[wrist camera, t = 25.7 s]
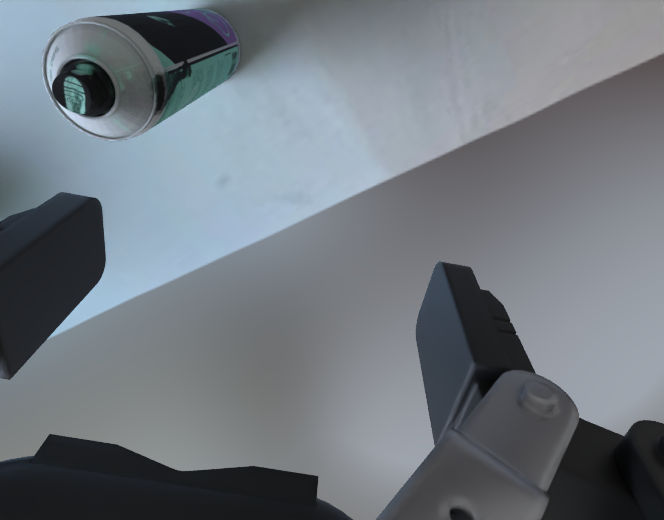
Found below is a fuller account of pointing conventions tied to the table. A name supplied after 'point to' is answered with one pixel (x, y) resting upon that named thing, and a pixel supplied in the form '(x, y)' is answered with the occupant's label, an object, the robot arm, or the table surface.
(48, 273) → the robot arm
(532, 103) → the table surface
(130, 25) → the spray can
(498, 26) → the table surface
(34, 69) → the table surface
